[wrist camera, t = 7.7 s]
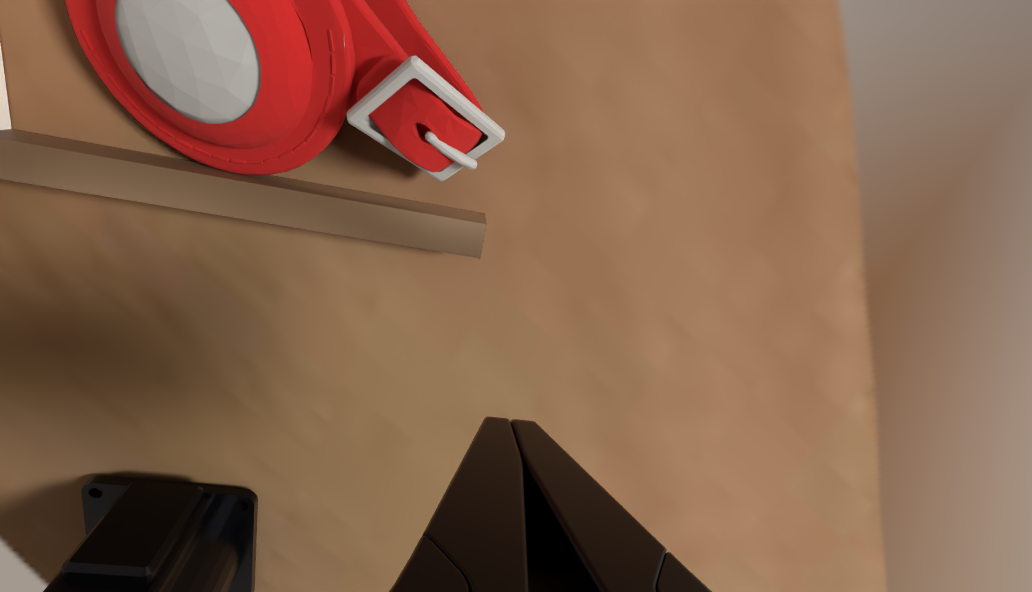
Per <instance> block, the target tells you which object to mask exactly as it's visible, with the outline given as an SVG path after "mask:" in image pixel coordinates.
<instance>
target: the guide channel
mask: <svg viewBox="0 0 1032 592" xmlns="http://www.w3.org/2000/svg"><path fill="white" fill-rule="evenodd" d="M0 179H3V180H9V181H15V182H21V183H27V184H33V185H39V186H45V187H52V188H58V189H64V190H70V191H76V192H82V193H88V194H94V195H100V196H106V197H112V198H118V199H124V200H130V201H136V202H142V203H148V204H154V205H160V206H166V207H172V208H179V209H185V210H191V211H197V212H203V213H209V214H215V215H221V216H227V217H233V218H239V219H245V220H251V221H257V222H263V223H269V224H275V225H281V226H287V227H293V228H299V229H305V230H312V231H318V232H324V233H330V234H336V235H342V236H348V237H354V238H360V239H366V240H372V241H378V242H384V243H390V244H396V245H402V246H408V247H414V248H420V249H426V250H432V251H439V252H445V253H451V254H457V255H463V256H469V257H475V258H480V257H481V251H482V246H483V241H484V236H485V230H486V225H487V224H486V217H485V214H484V213H478V212H473V211H467V210H462V209H456V208H450V207H445V206H439V205H434V204H428V203H423V202H417V201H411V200H406V199H400V198H395V197H389V196H383V195H378V194H372V193H367V192H361V191H356V190H350V189H344V188H339V187H333V186H328V185H322V184H316V183H311V182H305V181H300V180H294V179H289V178H283V177H277V176H272V175H246V174H238V173H232V172H227V171H224V170H220V169H217V168H214V167H211V166H209V165H206V164H203V163H199V162H194V161H188V160H182V159H177V158H171V157H166V156H160V155H155V154H149V153H143V152H138V151H132V150H127V149H121V148H115V147H110V146H104V145H99V144H93V143H88V142H82V141H76V140H71V139H65V138H60V137H54V136H48V135H43V134H37V133H32V132H26V131H21V130H15V129H11V121H10V114H9V106H8V98H7V91H6V83H5V75H4V68H3V60H2V52H1V45H0Z"/></svg>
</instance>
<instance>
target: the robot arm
mask: <svg viewBox="0 0 1032 592" xmlns="http://www.w3.org/2000/svg"><path fill="white" fill-rule="evenodd" d="M98 489H99V490H98ZM100 490H101V491H100ZM82 499H83V508H84V517H85V526H86V535H87V536H86V537H85V538H84V539H83V541H82V542H81V543H80V544H79V545H78V547H77V548H76V549H75V550H74V552H73V553H72V554H71V555H70V556H69V558H68V559H67V560H66V561H65V563H64V564H63V566H62V569H61V570H60V572H59V573H58V574H57V575H56V577H55V578H54V579H53V580H52V581H51V583H50V584H49V585H48V586H47V588H46V589H45V590H44V591H43V592H254V587H255V560H256V533H257V506H258V498H257V495H256V494H255V493H254V492H252V491H251V490H247V489H239V488H227V487H216V486H205V485H194V484H183V483H172V482H161V481H149V480H138V479H127V478H116V477H105V476H96V477H93V478H91V479H90V480H89V481H88V482H87V484H86V485H85V486H84V487H83V488H82ZM241 501H245V502H246V503H242V502H241ZM389 592H712V591H711V590H709V589H708V588H707V587H706V586H705V585H704V584H703V583H702V582H701V581H700V580H699V579H698V578H696V577H695V576H694V575H693V574H692V573H691V572H690V571H689V570H688V569H687V568H686V567H685V566H684V565H683V564H682V563H681V562H680V561H679V560H678V559H676V558H675V557H674V556H673V555H672V554H671V553H670V552H667V553H666V548H665V547H664V546H663V545H662V544H661V543H660V542H659V541H658V540H657V539H656V538H655V537H653V536H652V535H651V534H650V533H649V532H648V531H647V530H646V529H645V528H644V527H643V526H642V525H641V524H640V523H639V522H638V521H637V520H636V519H635V518H634V517H633V516H632V515H631V514H630V513H629V512H628V511H627V510H626V509H625V508H623V507H622V506H621V505H620V504H619V503H618V502H617V501H616V500H615V499H614V498H613V497H612V496H611V495H610V494H609V493H608V492H607V491H606V490H605V489H604V488H603V487H602V486H601V485H600V484H599V483H598V482H597V481H596V480H594V479H593V478H592V477H591V476H590V475H589V474H588V473H587V472H586V471H585V470H584V469H583V468H582V467H581V466H580V465H579V464H578V463H577V462H576V461H575V460H574V459H573V458H572V457H571V456H570V455H569V454H568V453H567V452H566V451H564V450H563V449H562V448H561V447H560V446H559V445H558V444H557V443H556V442H555V441H554V440H553V439H552V438H551V437H550V436H549V435H548V434H547V433H546V432H545V431H544V430H543V429H542V428H541V427H540V426H539V425H538V424H536V423H535V422H533V421H527V420H517V419H513V420H511V421H509V420H508V419H506V418H498V417H486V418H485V419H484V420H483V422H482V424H481V426H480V428H479V430H478V432H477V434H476V435H475V437H474V439H473V441H472V443H471V445H470V447H469V449H468V450H467V452H466V454H465V456H464V458H463V460H462V462H461V464H460V466H459V467H458V469H457V471H456V473H455V475H454V477H453V479H452V481H451V482H450V484H449V486H448V488H447V490H446V492H445V494H444V496H443V498H442V499H441V501H440V503H439V505H438V507H437V509H436V511H435V513H434V514H433V516H432V518H431V520H430V522H429V524H428V526H427V528H426V530H425V531H424V533H423V536H422V537H421V538H420V540H419V542H418V544H417V546H416V548H415V549H414V551H413V553H412V555H411V557H410V559H409V560H408V562H407V564H406V565H405V567H404V569H403V570H402V572H401V574H400V575H399V577H398V579H397V581H396V582H395V584H394V585H393V587H392V588H391V590H390V591H389Z"/></svg>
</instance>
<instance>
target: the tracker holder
mask: <svg viewBox="0 0 1032 592" xmlns="http://www.w3.org/2000/svg"><path fill="white" fill-rule="evenodd" d="M66 5H67V9H68V13H69V17H70V21H71V24H72V27H73V29H74V32H75V34H76V37H77V39H78V42H79V44H80V46H81V48H82V49H83V51H84V53H85V54H86V56H87V58H88V59H89V61H90V63H91V65H92V66H93V68H94V70H95V71H96V73H97V74H98V76H99V77H100V78H101V80H102V81H103V82H104V84H105V85H106V86H107V88H108V89H109V90H110V92H111V93H112V94H113V96H114V97H115V98H116V99H117V100H118V101H119V102H120V103H121V104H122V105H123V106H124V107H125V108H126V109H127V110H128V111H129V112H130V114H131V115H132V116H133V117H134V118H135V119H136V120H137V121H139V122H140V123H141V124H142V125H143V126H144V127H146V128H147V129H148V130H149V131H150V132H151V133H153V134H154V135H155V136H156V137H158V138H159V139H161V140H162V141H164V142H165V143H167V144H168V145H169V146H171V147H173V148H174V149H176V150H177V151H179V152H181V153H183V154H184V155H186V156H188V157H190V158H192V159H194V160H196V161H198V162H201V163H203V164H206V165H209V166H211V167H214V168H217V169H220V170H224V171H227V172H232V173H238V174H246V175H270V174H276V173H282V172H287V171H289V170H292V169H295V168H297V167H300V166H301V165H303V164H305V163H306V162H308V161H310V160H311V159H313V158H314V157H315V156H316V155H318V154H319V153H320V152H321V151H323V150H324V149H325V148H326V147H327V146H328V145H329V143H330V142H331V141H332V140H333V138H334V137H335V136H336V135H337V133H338V132H339V130H340V128H341V126H342V125H343V123H344V120H345V118H346V115H347V121H348V122H349V123H350V124H351V125H353V126H354V127H356V128H357V129H359V130H360V131H362V132H364V133H365V134H367V135H368V136H370V137H371V138H373V139H374V140H376V141H378V142H379V143H381V144H382V145H384V146H385V147H387V148H388V149H390V150H392V151H393V152H395V153H396V154H398V155H399V156H401V157H402V158H404V159H406V160H407V161H409V162H410V163H412V164H413V165H415V166H417V167H418V168H420V169H421V170H423V171H424V172H426V173H427V174H429V175H431V176H432V177H434V178H435V179H437V180H438V181H444V180H446V179H447V178H449V177H450V176H452V175H453V174H455V173H456V172H457V171H459V170H460V169H462V168H463V167H466V168H468V169H471V170H473V169H475V168H476V167H477V162H476V160H475V159H477V158H478V157H480V156H481V155H483V154H484V153H485V152H487V151H488V150H490V149H491V148H493V147H494V146H496V145H497V144H499V143H500V142H502V141H503V140H504V137H505V131H504V130H503V129H502V128H501V127H500V126H499V125H497V124H496V123H495V122H494V121H493V120H491V119H490V118H489V117H488V116H487V115H486V114H484V113H483V110H482V108H481V106H480V105H479V103H478V101H477V100H476V98H475V96H474V95H473V93H472V91H471V90H470V89H469V87H468V86H467V85H466V83H465V82H464V80H463V79H462V78H461V76H460V75H459V74H458V72H457V71H456V70H455V68H454V67H453V66H452V64H451V63H450V62H449V60H448V59H447V58H446V56H445V55H444V54H443V52H442V51H441V50H440V48H439V47H438V46H437V44H436V43H435V42H434V40H433V39H432V38H431V36H430V35H429V34H428V32H427V31H426V30H425V28H424V27H423V26H422V24H421V23H420V22H419V20H418V19H417V17H416V16H415V14H414V12H413V11H412V9H411V8H410V6H409V5H408V3H407V1H406V0H66Z"/></svg>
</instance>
